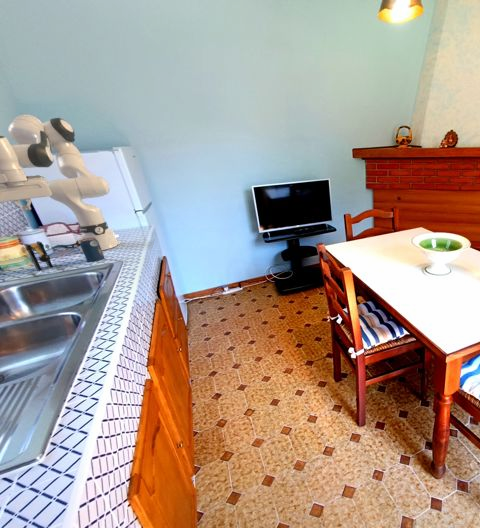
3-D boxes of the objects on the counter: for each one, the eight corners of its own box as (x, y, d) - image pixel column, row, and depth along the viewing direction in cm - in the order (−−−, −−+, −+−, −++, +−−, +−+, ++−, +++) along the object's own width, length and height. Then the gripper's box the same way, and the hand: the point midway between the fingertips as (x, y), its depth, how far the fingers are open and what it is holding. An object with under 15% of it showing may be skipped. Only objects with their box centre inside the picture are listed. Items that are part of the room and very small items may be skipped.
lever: (52, 262, 136) (50, 255, 134) (42, 264, 134) (40, 258, 132) (39, 247, 141) (37, 241, 139) (29, 249, 138) (26, 243, 136)
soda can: (107, 260, 151) (99, 238, 147) (91, 265, 146) (81, 242, 141) (102, 258, 155) (93, 236, 150) (86, 263, 149) (76, 240, 145)
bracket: (62, 269, 143) (49, 242, 138) (37, 276, 136) (22, 248, 131) (54, 265, 149) (42, 239, 144) (29, 272, 142) (15, 244, 137)
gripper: (42, 174, 135) (55, 205, 140) (-27, 180, 119) (-9, 214, 124) (46, 174, 132) (59, 206, 137) (-24, 180, 116) (-6, 215, 121)
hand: (26, 210), depth 130 cm, fingers closed
